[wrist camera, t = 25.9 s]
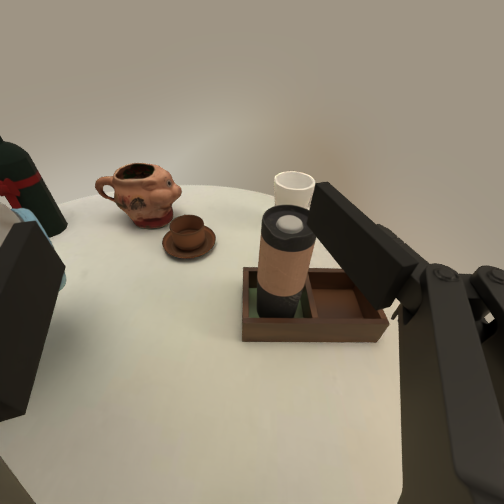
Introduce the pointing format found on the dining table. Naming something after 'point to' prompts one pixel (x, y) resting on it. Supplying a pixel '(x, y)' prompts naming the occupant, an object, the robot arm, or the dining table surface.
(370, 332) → the divided box
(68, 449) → the dining table surface
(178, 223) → the cup and saucer
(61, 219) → the wine bottle
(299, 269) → the travel mug
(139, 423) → the dining table surface
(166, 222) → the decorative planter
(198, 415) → the dining table surface
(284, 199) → the foam cup
